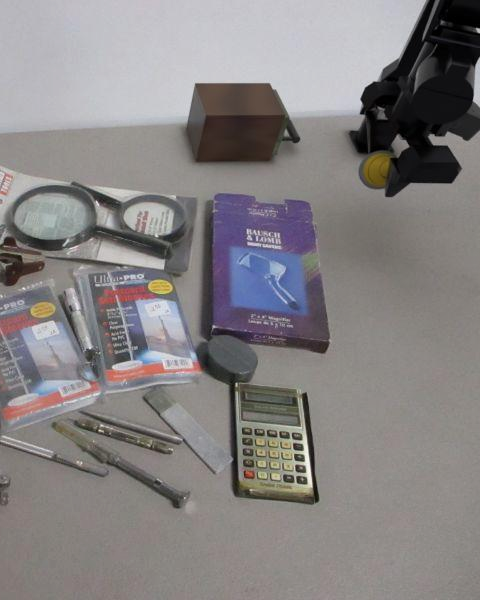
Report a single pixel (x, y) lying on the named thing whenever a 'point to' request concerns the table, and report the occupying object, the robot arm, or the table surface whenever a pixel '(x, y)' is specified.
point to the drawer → (285, 128)
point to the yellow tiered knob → (375, 169)
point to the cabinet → (234, 122)
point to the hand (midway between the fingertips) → (380, 180)
